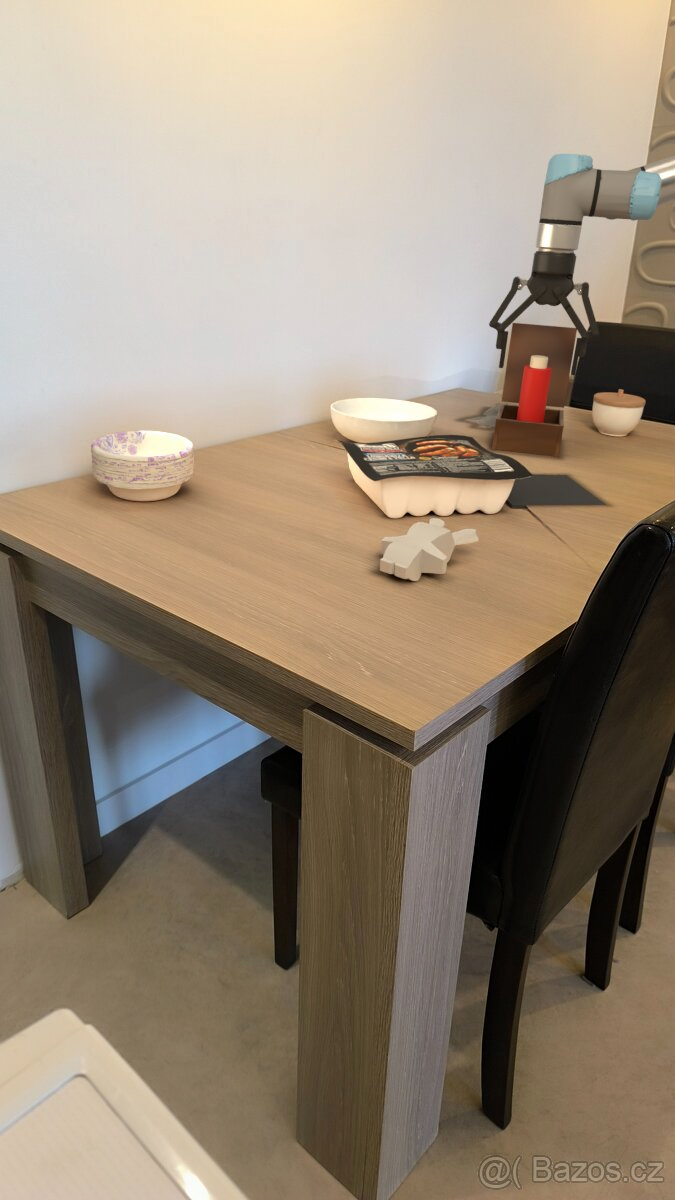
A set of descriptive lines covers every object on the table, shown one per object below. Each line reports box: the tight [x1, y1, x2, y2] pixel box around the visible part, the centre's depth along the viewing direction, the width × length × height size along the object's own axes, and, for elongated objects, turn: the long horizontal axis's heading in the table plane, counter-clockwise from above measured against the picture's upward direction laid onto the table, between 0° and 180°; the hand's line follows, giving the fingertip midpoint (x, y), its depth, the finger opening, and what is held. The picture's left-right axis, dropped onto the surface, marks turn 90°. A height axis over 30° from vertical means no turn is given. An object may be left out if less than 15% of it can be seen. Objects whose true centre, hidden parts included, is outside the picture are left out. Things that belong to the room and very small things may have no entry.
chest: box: [491, 403, 565, 458], centre depth 164 cm, size 15×13×7 cm
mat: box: [505, 474, 607, 509], centre depth 139 cm, size 16×16×1 cm
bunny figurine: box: [379, 517, 480, 582], centre depth 107 cm, size 10×5×15 cm
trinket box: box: [591, 388, 646, 437], centre depth 179 cm, size 11×11×9 cm
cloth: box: [465, 402, 509, 429], centre depth 186 cm, size 26×14×2 cm, turn 148°
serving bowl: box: [330, 397, 438, 443], centre depth 162 cm, size 21×21×7 cm
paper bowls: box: [90, 430, 195, 502], centre depth 127 cm, size 15×15×8 cm
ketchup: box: [517, 355, 552, 423], centre depth 161 cm, size 5×5×17 cm
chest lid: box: [501, 322, 578, 409], centre depth 167 cm, size 15×13×1 cm
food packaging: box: [334, 434, 534, 520], centre depth 131 cm, size 25×8×23 cm
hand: (536, 370), depth 159 cm, fingers open, 13 cm apart
